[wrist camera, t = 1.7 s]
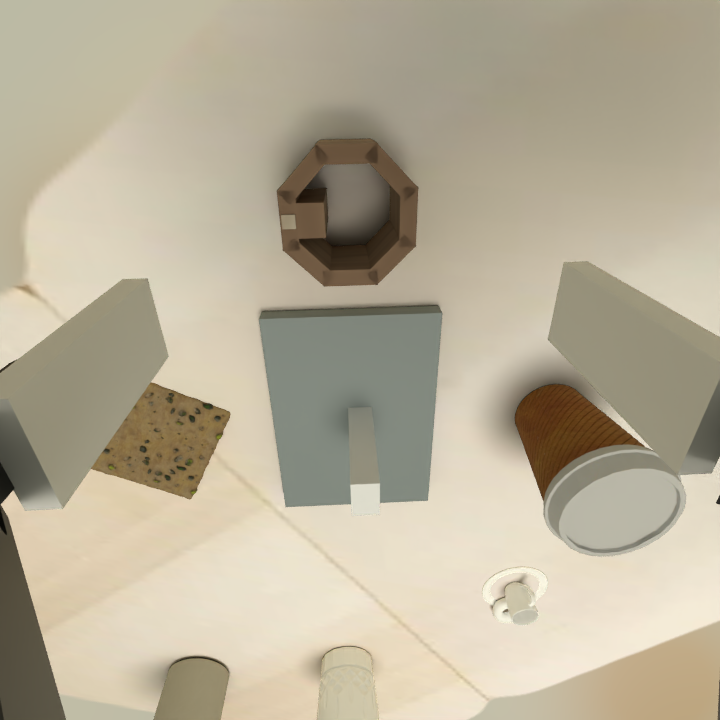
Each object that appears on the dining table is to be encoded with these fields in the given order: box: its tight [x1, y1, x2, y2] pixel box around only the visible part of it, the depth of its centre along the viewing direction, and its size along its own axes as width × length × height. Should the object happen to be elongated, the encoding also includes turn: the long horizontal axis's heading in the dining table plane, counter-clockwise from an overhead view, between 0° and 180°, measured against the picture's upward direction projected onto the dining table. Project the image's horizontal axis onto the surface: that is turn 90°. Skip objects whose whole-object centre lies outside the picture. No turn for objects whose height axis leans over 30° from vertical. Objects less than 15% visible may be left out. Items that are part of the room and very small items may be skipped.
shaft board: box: [259, 306, 442, 516], centre depth 35 cm, size 14×20×10 cm
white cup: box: [317, 647, 379, 720], centre depth 55 cm, size 8×8×10 cm
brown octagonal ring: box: [277, 138, 419, 286], centre depth 28 cm, size 8×8×6 cm
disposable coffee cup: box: [515, 384, 686, 556], centre depth 35 cm, size 10×10×12 cm
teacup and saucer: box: [482, 567, 548, 625], centre depth 52 cm, size 9×8×4 cm
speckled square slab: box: [91, 383, 230, 499], centre depth 40 cm, size 12×12×1 cm
